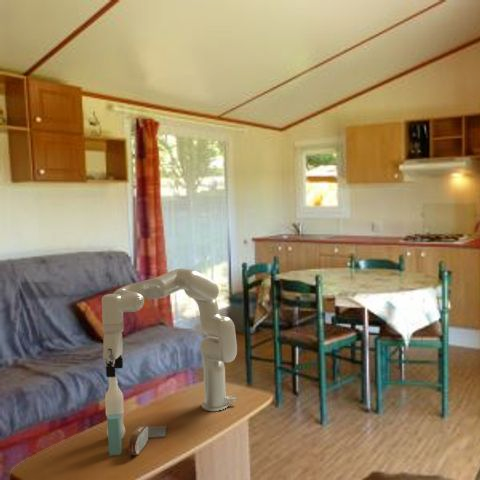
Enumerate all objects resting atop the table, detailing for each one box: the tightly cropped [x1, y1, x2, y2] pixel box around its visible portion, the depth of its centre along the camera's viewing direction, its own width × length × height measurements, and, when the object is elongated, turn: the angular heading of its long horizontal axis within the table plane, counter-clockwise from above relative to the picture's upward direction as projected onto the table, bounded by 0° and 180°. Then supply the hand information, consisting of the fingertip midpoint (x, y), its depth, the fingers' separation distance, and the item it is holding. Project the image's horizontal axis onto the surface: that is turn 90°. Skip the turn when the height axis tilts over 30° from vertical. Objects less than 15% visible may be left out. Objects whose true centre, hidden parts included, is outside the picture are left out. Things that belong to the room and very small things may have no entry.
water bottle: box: [104, 375, 126, 441], centre depth 209 cm, size 7×7×25 cm
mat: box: [148, 425, 167, 440], centre depth 214 cm, size 12×9×1 cm
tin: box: [128, 423, 150, 456], centre depth 200 cm, size 15×3×8 cm, turn 169°
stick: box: [106, 414, 123, 456], centre depth 198 cm, size 4×4×14 cm
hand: (114, 372), depth 198 cm, fingers open, 9 cm apart
